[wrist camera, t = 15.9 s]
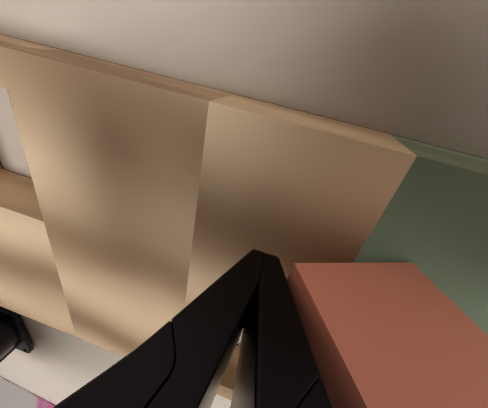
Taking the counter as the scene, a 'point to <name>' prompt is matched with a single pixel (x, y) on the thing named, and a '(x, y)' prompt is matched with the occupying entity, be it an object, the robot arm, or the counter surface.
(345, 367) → the block
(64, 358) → the counter surface
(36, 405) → the gum box
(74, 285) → the trap board
